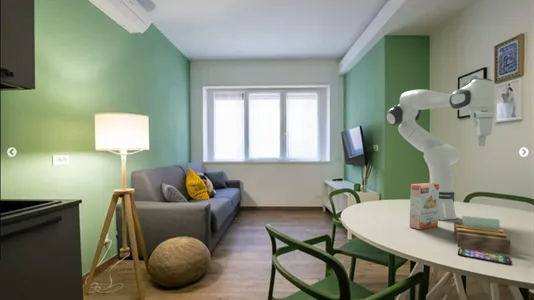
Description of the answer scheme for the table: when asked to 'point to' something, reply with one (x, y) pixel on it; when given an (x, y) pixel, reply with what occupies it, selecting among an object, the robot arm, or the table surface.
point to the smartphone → (484, 256)
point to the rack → (481, 239)
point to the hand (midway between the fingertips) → (481, 146)
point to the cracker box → (424, 205)
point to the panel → (480, 224)
